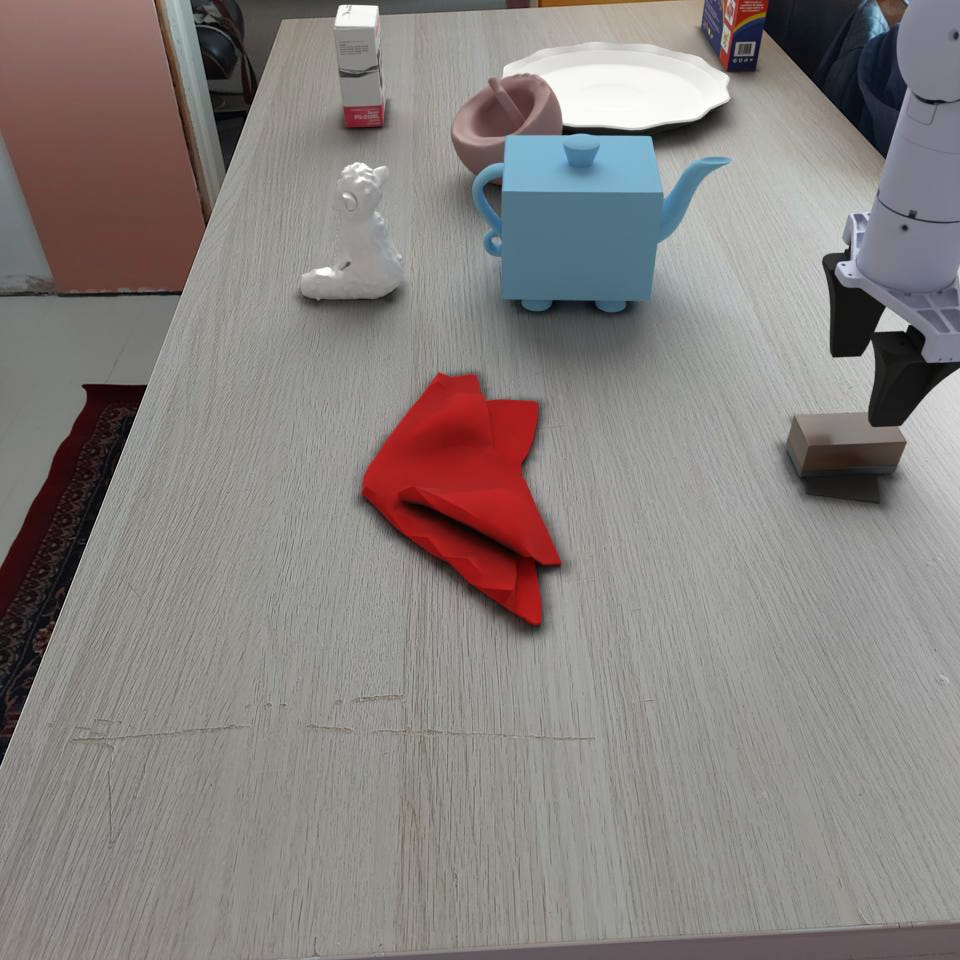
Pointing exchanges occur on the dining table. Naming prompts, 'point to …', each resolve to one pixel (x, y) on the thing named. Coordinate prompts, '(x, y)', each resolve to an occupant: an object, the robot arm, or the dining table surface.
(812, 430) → the eraser
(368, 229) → the seated beast figurine
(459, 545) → the cloth
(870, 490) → the dark grey flat slab
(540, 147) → the teapot
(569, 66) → the plate
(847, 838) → the dining table surface
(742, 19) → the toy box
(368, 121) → the ink box
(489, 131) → the mortar and pestle
